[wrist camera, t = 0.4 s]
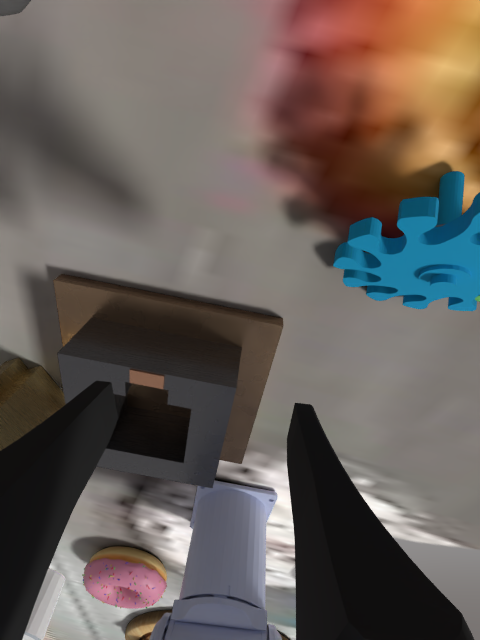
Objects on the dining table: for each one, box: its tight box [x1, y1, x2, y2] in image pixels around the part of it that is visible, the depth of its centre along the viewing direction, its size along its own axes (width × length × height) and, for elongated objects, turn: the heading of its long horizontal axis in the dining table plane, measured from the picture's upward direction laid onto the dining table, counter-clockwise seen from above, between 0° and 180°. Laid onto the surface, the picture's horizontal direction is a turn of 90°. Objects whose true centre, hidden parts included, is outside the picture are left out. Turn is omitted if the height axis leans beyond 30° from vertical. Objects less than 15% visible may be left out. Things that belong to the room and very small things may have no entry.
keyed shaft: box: [0, 358, 66, 451], centre depth 24 cm, size 5×4×7 cm
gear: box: [333, 171, 480, 311], centre depth 15 cm, size 11×6×10 cm
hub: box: [53, 274, 283, 488], centre depth 23 cm, size 15×15×5 cm
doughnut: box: [82, 546, 167, 608], centre depth 42 cm, size 11×11×4 cm
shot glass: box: [22, 568, 65, 640], centre depth 45 cm, size 7×7×7 cm
